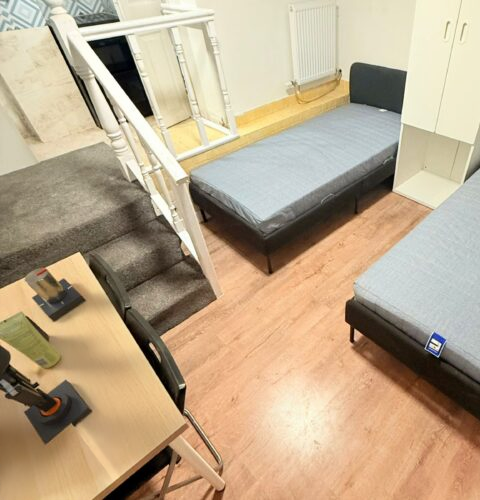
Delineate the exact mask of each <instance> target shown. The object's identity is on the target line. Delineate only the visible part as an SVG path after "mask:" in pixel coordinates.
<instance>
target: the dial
mask: <svg viewBox="0 0 480 500" xmlns="http://www.w3.org/2000/svg"><path fill="white" fill-rule="evenodd" d="M24 282H25V283H26V284H27V285H28V286H29V287H30V288H31V289H32V290H33V291H34V292H35V293H36V295H37V294H38V295H39V296H40V297H41V298H42V299H43V300H44V301H45V302H46V303H48V304H53V303H56V302H59V301H60V300H62V299H63V298H64V297H65V296H66V294H67V291H66V290H65V289H64V287H63V286H62V285H61V284H60V283H59V280H57V278H56V277H55V276H54V275H53V274H52V273H51V272H50V271H49V270H48V269H47V267H39V268H36V269H33V270H32V271H29V273H28V274H27V275H26V276H25V277H24Z"/></svg>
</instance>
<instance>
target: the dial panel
mask: <svg viewBox="0 0 480 500" xmlns="http://www.w3.org/2000/svg"><path fill="white" fill-rule="evenodd" d="M58 282H59V283H60V284H61V285H62V286H63V287H64V289H65V290H66V291H67V294H66V296H65V297H64V298H63V299H62V300H60V301H59V302H56V303H53V304H48V303H46V302H45V301H44V300H43V299H42V298H41V297H40V296H39V295H38V294H37V293H36V294H35V295H34V296H32V297H31V299H32V300H33V301H34V302H35V304H36V305H37V306H38V308H40V309H41V310H42V312H43V313H44V314H45V315H46V316H47V317H48V318H49V320H51V321H52V322H56V321H57V320H59V319H60V318H62V317H63V316H65V315H66V314H68V313H69V312H71V311H73V310H74V309H75V308H77V307H78V306H80V305H81V304H83V303H84V302H86V298H84V296H83V295H82V294H81V293H80V292H79V291H78V290H77V289H76V288H75V287H74V286H73V285H72V284H71V283H70V282H68V281H67V279H65V278H61V279H60V280H58Z"/></svg>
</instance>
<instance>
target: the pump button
mask: <svg viewBox="0 0 480 500" xmlns="http://www.w3.org/2000/svg"><path fill="white" fill-rule="evenodd" d="M54 399H55V400H56V402H57V404H56V405H54V406H53V407H52V408H51V409H49V410H48V411H47V412H44V411H42V410H41V413H42V414H43V415H45V416H46V417H48V416H51V415H53V414H54V413H55V412H57V411H58V410H59V408H60V407H61V405H62V401H61V400H60V399H58V398H54Z"/></svg>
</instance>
